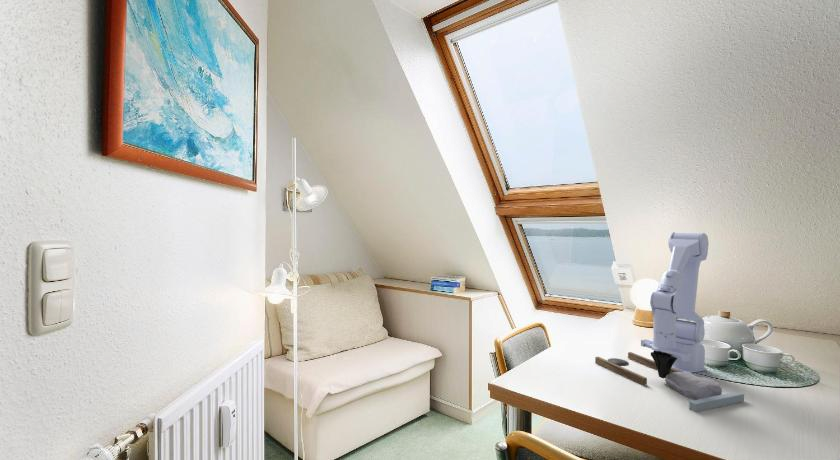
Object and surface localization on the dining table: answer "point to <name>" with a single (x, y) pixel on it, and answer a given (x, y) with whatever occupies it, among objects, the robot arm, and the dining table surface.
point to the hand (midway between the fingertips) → (663, 377)
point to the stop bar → (716, 401)
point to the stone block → (693, 385)
